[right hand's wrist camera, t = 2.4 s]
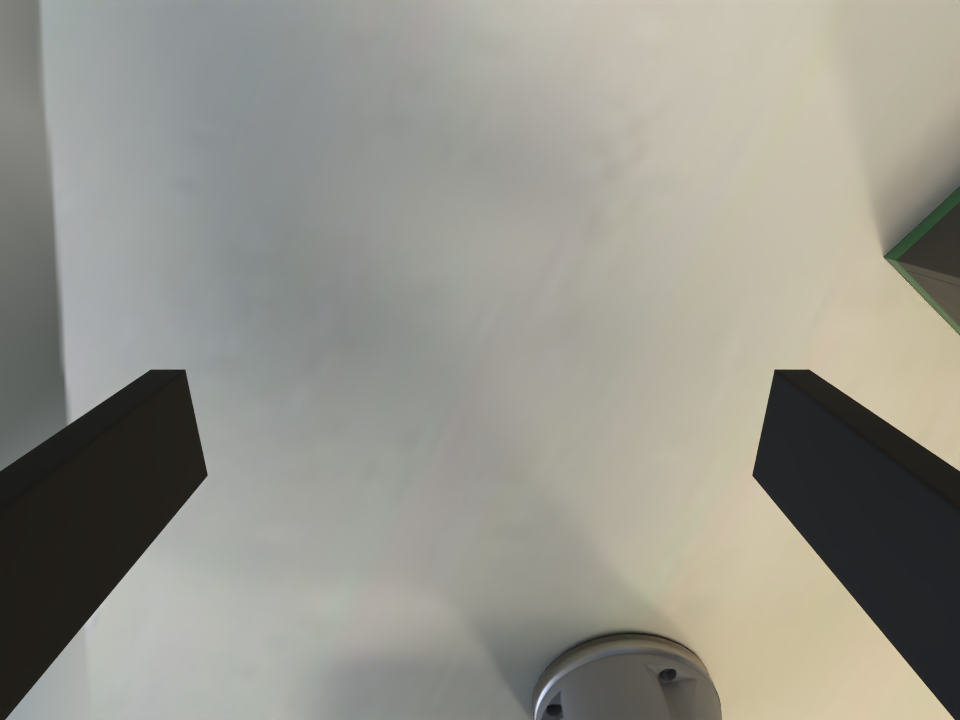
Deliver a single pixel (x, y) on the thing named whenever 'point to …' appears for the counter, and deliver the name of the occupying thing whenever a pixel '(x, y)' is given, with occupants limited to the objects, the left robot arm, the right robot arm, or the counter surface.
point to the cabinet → (934, 259)
